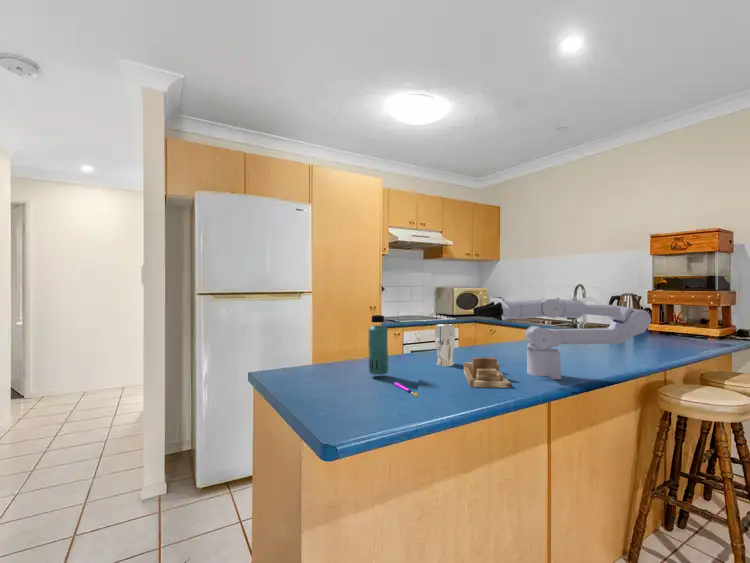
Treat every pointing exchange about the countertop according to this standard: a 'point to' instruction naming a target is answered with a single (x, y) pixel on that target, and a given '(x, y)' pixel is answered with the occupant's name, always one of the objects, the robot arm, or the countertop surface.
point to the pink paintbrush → (404, 388)
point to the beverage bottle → (378, 347)
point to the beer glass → (445, 344)
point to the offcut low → (488, 378)
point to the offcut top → (486, 372)
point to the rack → (491, 384)
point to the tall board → (483, 364)
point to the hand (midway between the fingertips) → (475, 311)
